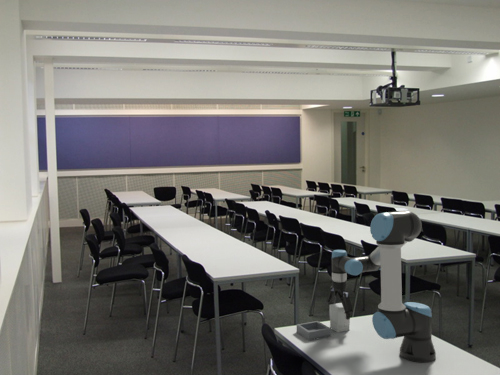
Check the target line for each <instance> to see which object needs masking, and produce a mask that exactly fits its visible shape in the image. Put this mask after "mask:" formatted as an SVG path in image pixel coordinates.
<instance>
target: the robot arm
mask: <svg viewBox="0 0 500 375" xmlns="http://www.w3.org/2000/svg"><path fill="white" fill-rule="evenodd" d="M422 225H423V224H422V220H421V219H420V217H419V216H418V214H416V213H414V212H413V211H411V210H410V211H409V210H403V211H388V212H387V211H386V212H380V213H377V214H376V215H375V216H374V217H372V220H371V223H370V231H369V232H370V234H371V237H372V239H373V240H375V241H376V245H377V247H376V248H375V249H374V250H373V251H372V252H371V253H370V254H369V255H365V256H355V257H349V256H348V252H347V251H346V250H345V249H334V250H333V251H332V252H331V286H330V287H329V292H328V295H327V299H326V303H328V306H329V308H328V309H329V311H330V305H331V304H336V303H335V302H336V301H337V299H338V300H339V301H340V303H342V305H343V308H344V310H345V312H344V325H345V326H347V325H349V326H350V323H351V322H350V319H351V313H353V311H354V310H353V307H352V303H351V299H350V293H349V292H346V289H347V288H348V281H347V280H348V279H347V278H348V275H351V276H358V275H360V274H361V273H365V272H366V273H367V272H377V271H380V296H381V298H380V303H378V305H377V311H376V312H374V313H373V315H372V318H371V319H372V326H373V329H374V330H375V332H376V334H377V335H378V336H379V337H380V338H382V339H384V340H390V339H391V340H394V339H397V338H402V337H403V338H402V341H401V344H400V347H399V356H401V358H403V359H405V360H407V361H410V362H415V363H430V362H433V361H434V360H436V358H437V356H436V355H437V353H436V349H435V345H434V344H433V343H434V342H433V340H432V330H433V329H432V328H433V327H432V320H433V319H432V318H433V316H432V308H431V307H430V306H428V305H427V304H424V303H420V302H414V301H413V302H412V301H409V302H408V301H407V302H404V303H403V295H402V294H403V293H402V292H403V288H402V249H401V248H402V247H403V246H405V245H406V244H407V243H411V242H413V241H414V240H415V239H416V238H417V237H418V236H419V235H420V233H421V232H422ZM347 274H348V275H347Z"/></svg>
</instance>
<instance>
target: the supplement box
mask: <svg viewBox="0 0 500 375" xmlns="http://www.w3.org/2000/svg"><path fill="white" fill-rule="evenodd" d="M344 312H345V310H344V308H343V305H342V302H337V303H335V304H331V305H330V310H329V323H330V324H329V326H330V327H329V328H331V330H332V331H335V332H336V333H343V332H348V331H350V325H347V326H345V325H344Z"/></svg>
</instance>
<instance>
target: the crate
mask: <svg viewBox="0 0 500 375" xmlns="http://www.w3.org/2000/svg"><path fill="white" fill-rule="evenodd" d="M331 331H332V329H331V328H330V327H329V326H328V325H325V324H324V323H322V322H321V321H319V320H316V321H315V320H314V321H309V322H302V323H297V324H296V333H297V334H298V335H300V336H302V337H303V338H304V339H306V340H308V341H314V340H318V339H324V338H330V337H331V334H332V332H331Z"/></svg>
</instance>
